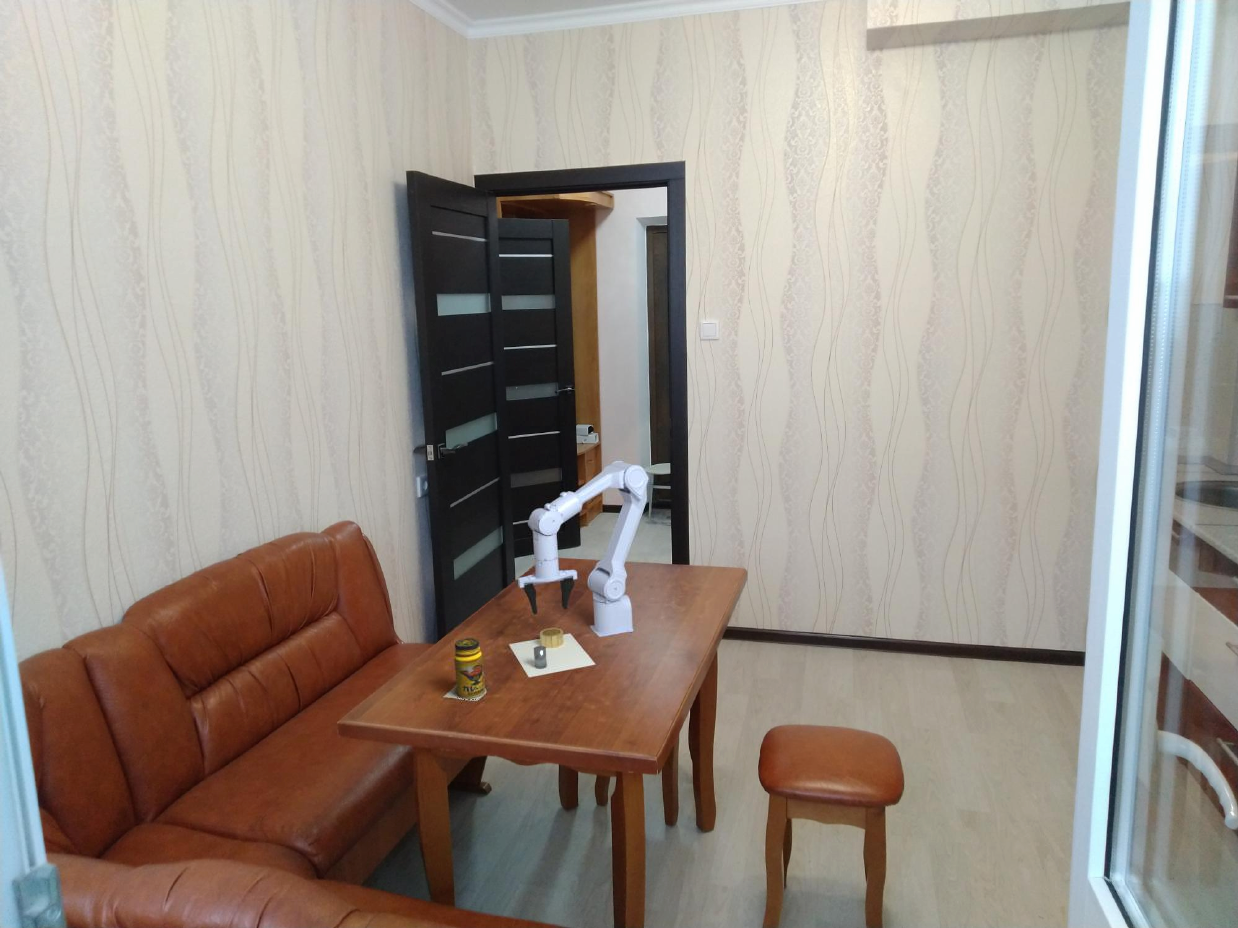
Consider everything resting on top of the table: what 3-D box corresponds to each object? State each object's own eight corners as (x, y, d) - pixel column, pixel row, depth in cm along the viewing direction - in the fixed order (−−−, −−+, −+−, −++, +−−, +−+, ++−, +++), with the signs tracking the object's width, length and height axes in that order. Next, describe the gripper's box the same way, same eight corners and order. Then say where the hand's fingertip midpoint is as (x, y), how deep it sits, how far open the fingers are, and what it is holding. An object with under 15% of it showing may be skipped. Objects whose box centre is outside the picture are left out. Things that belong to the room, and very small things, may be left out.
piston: (545, 662, 200) (543, 644, 200) (548, 667, 198) (547, 649, 197) (533, 665, 200) (532, 647, 199) (536, 669, 197) (535, 651, 196)
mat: (570, 635, 218) (570, 633, 218) (595, 666, 199) (595, 664, 198) (508, 646, 213) (508, 644, 213) (529, 679, 193) (528, 676, 193)
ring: (559, 637, 215) (559, 626, 215) (566, 645, 210) (565, 634, 210) (538, 641, 213) (537, 630, 213) (544, 649, 208) (543, 638, 208)
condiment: (477, 701, 184) (473, 649, 181) (442, 697, 186) (438, 646, 184) (492, 686, 190) (488, 636, 188) (458, 683, 193) (454, 633, 191)
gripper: (570, 549, 214) (573, 600, 216) (513, 557, 209) (517, 609, 212) (578, 556, 207) (581, 609, 210) (520, 565, 203) (524, 619, 205)
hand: (549, 610), depth 210 cm, fingers open, 7 cm apart
